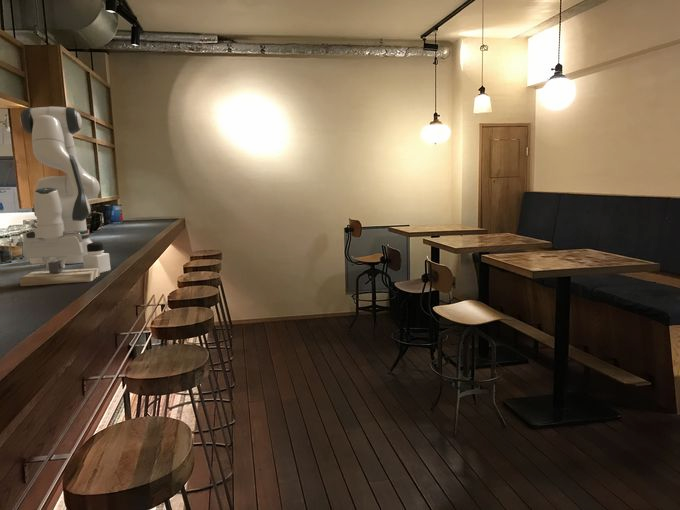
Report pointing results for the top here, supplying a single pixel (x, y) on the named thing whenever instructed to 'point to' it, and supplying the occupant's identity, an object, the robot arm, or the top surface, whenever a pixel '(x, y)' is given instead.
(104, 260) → the medicine bottle
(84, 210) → the robot arm
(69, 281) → the control strip
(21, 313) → the top surface
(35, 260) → the honey pot
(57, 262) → the fader knob
